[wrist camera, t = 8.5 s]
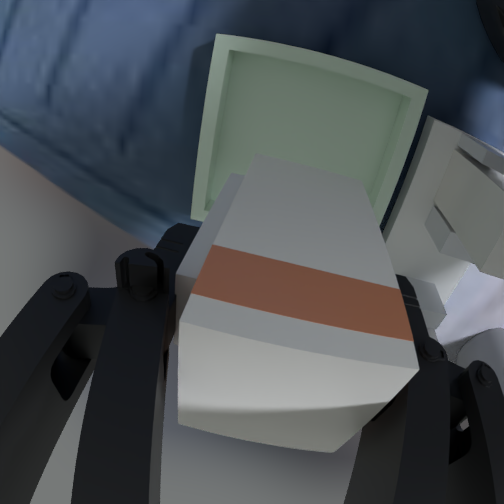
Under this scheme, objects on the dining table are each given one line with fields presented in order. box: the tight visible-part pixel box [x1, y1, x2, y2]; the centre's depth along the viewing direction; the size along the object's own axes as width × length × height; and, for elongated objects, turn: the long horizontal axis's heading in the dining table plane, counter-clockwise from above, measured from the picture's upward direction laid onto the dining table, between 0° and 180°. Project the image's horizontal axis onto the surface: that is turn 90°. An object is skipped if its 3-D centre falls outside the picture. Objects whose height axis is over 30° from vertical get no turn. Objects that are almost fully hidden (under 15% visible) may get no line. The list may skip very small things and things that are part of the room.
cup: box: [456, 328, 504, 395], centre depth 28 cm, size 8×8×10 cm
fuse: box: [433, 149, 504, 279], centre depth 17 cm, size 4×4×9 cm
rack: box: [382, 115, 504, 329], centre depth 24 cm, size 21×9×6 cm, turn 169°
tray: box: [190, 34, 429, 226], centre depth 22 cm, size 14×14×2 cm
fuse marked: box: [178, 153, 419, 453], centre depth 10 cm, size 4×4×9 cm
